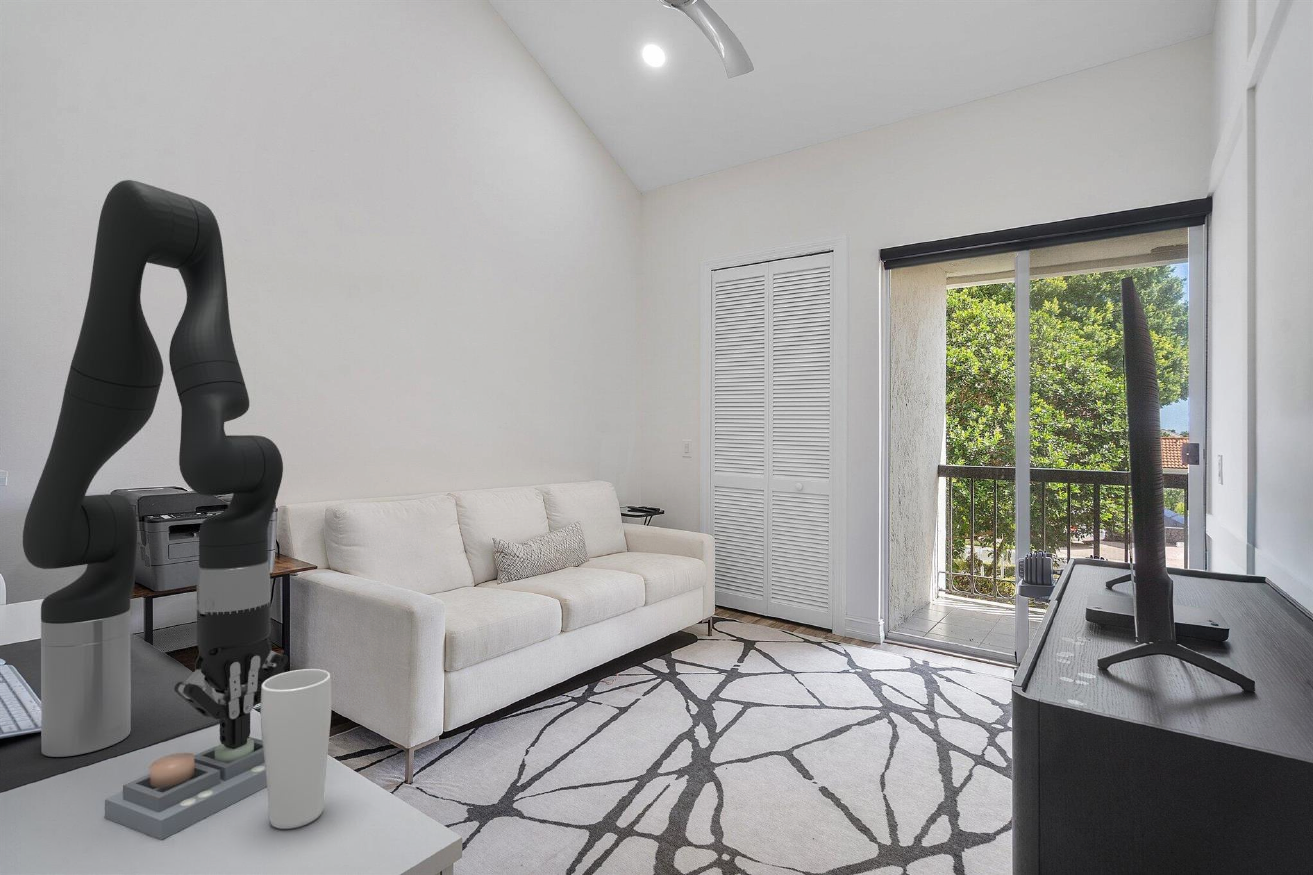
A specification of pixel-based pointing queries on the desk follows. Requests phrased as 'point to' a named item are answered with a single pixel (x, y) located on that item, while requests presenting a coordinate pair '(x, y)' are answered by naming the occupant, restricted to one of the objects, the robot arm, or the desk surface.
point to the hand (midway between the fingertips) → (235, 745)
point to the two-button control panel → (188, 794)
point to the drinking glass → (296, 744)
